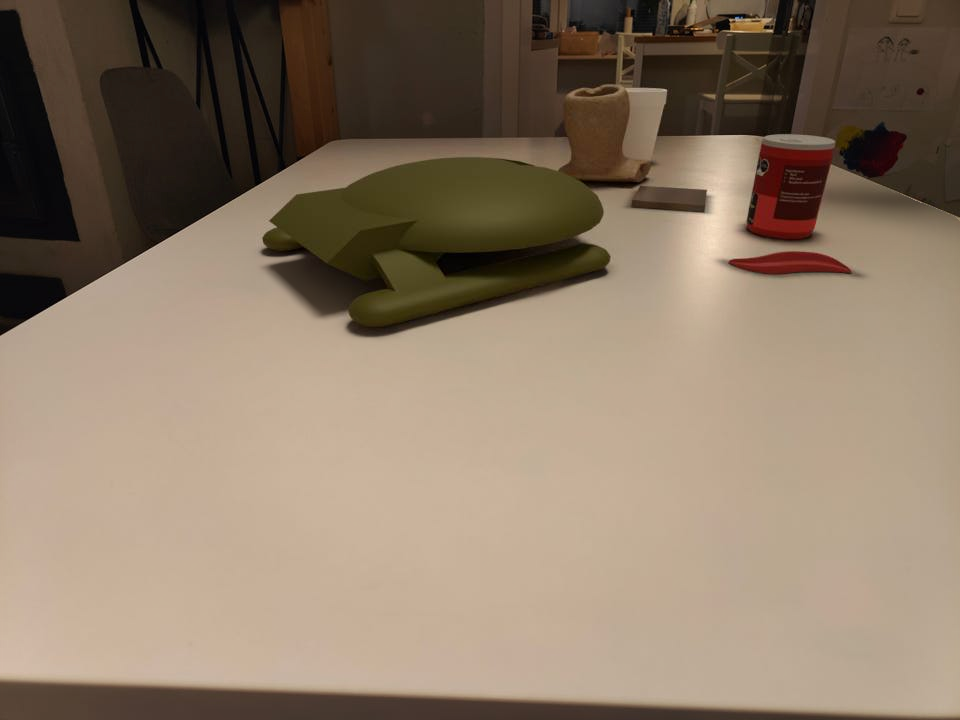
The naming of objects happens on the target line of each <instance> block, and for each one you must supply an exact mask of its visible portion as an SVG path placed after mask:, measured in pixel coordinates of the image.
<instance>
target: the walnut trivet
mask: <svg viewBox="0 0 960 720" xmlns="http://www.w3.org/2000/svg"><path fill="white" fill-rule="evenodd" d="M707 194H708V189H705V188H704V189H701V188H687V187H684V188H683V187H669V186H655V185H654V186H653V185H639V187H638V189H637V190H636V193H635V194H634V196H633V198H632V200H631V208H642V209H657V210H670V211H683V212H684V211H685V212H699V213H700V212H701V213H704V212H705V211H706V209H705V208H706V202H707Z"/></svg>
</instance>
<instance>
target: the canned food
mask: <svg viewBox="0 0 960 720" xmlns="http://www.w3.org/2000/svg"><path fill="white" fill-rule="evenodd" d="M835 148H836V140H834V139H833V138H829V137H825V136H820V135H819V136H817V135H809V134H792V133H791V134H790V133H785V134H784V133H781V134H780V133H779V134H769V135H765V136H763V138H762V141H761V144H760V150H759V154H758V157H757V164H756V169H755V175H754V178H753V185H752V189H751V190H752V191H751V196H750V200H749V204H748V205H749V206H748V211H747V217H746V227H747V229H748V230H749V231H750V232H752V233H754V234H757V235H759V236H763V237H767V238H772V239H780V240H801V239H805V238H808V237H810V236H811V235H812V233H813V232H814V230H815V229H816V228H815V227H816V225H817V220H818V216H819V212H820V208H821V204H822V201H823V196H824V192H825V188H826V185H827V180H828V176H829V173H830V168H831V165H832V161H833V158H834V153H835Z"/></svg>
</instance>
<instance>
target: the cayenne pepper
mask: <svg viewBox="0 0 960 720" xmlns="http://www.w3.org/2000/svg"><path fill="white" fill-rule="evenodd" d="M727 263H728V264H729V265H732V266H734V267H737V268H739V269H742V270H746V271H750V272H754V273H761V274H769V275H780V274H790V273H791V274H792V273H806V272H807V273H808V272H809V273H810V272H816V273H817V272H821V273H822V272H825V273H826V272H827V273H845V274H853V272H852V270H851V268H849V266H847V265H846V264H844V263H843V262H841V261H840V260H838V259H836V258H834V257H832V256H830V255H827V254H823V253H820V252H814V251H802V250H801V251H798V250H789V251H778V252H773V253H768V254H765V255H760V256H754V257H744V258H731V259H730V260H729V261H727Z"/></svg>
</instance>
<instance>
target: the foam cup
mask: <svg viewBox="0 0 960 720" xmlns="http://www.w3.org/2000/svg"><path fill="white" fill-rule="evenodd" d="M624 88H625V89H626V91H627V93H628V96H629V102H630V115H629V120H628V124H627V128H626V132H625V136H624V140H623V145H622V152H623V155H624V156H625V157H627V158H630V159H637V160H650V161H651V160H652V158H653V153H654V149H655V145H656V140H657V137H658V133H659V129H660V124H661V121H662V116H663V111H664V109H665V105H666V104H667V95H668V89H665V88H657V87H656V88H655V87H654V88H653V87H624Z"/></svg>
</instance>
